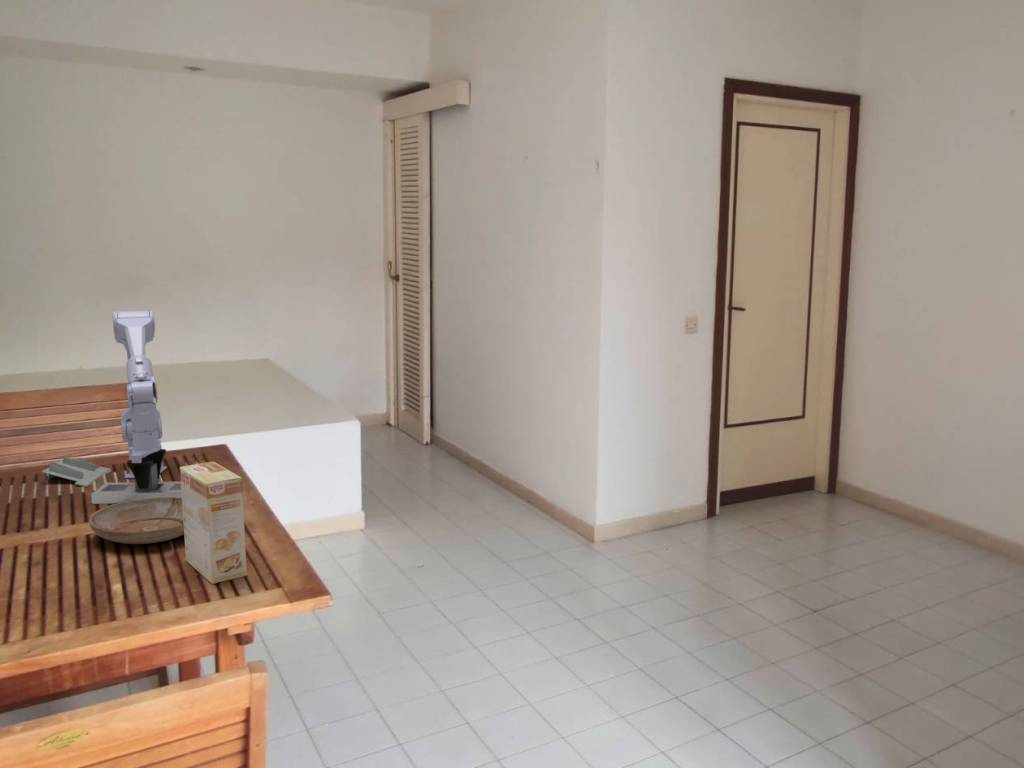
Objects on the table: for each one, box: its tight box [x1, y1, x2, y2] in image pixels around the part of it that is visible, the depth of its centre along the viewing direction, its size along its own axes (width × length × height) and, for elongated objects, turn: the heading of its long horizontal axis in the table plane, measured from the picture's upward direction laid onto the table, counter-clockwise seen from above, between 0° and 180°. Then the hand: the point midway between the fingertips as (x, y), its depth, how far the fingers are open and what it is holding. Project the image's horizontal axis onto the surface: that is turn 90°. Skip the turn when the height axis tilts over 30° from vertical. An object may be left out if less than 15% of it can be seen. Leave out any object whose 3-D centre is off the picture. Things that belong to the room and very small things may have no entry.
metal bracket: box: [41, 456, 112, 488], centre depth 222 cm, size 14×6×15 cm
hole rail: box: [90, 480, 182, 505], centre depth 207 cm, size 9×24×2 cm, turn 94°
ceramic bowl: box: [88, 497, 184, 545], centre depth 182 cm, size 23×24×5 cm
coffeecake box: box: [179, 461, 248, 585], centre depth 162 cm, size 15×7×20 cm, turn 39°
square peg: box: [134, 463, 159, 491], centre depth 206 cm, size 4×4×8 cm
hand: (149, 483), depth 206 cm, fingers open, 7 cm apart
